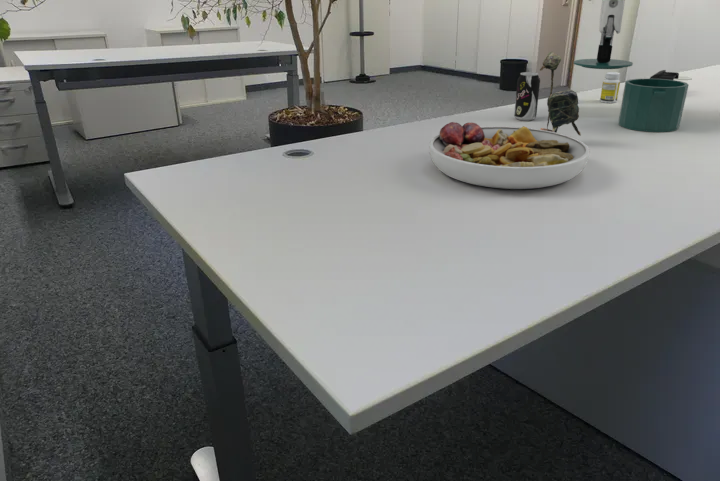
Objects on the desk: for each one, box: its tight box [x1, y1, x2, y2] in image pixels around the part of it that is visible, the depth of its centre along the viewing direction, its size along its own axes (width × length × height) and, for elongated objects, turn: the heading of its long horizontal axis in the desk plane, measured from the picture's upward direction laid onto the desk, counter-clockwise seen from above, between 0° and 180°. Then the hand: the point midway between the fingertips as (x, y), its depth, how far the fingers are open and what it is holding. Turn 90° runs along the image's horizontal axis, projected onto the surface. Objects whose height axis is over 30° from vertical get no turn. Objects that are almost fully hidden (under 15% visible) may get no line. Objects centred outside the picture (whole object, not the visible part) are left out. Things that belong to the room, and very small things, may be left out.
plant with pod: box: [539, 51, 582, 137], centre depth 122 cm, size 8×11×20 cm
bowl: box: [428, 121, 591, 190], centre depth 107 cm, size 30×30×8 cm
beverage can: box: [513, 71, 541, 122], centre depth 145 cm, size 6×6×12 cm
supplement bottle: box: [599, 71, 621, 104], centre depth 165 cm, size 5×5×8 cm
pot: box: [618, 77, 690, 133], centre depth 136 cm, size 14×19×10 cm
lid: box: [573, 58, 634, 70], centre depth 148 cm, size 15×15×7 cm
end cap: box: [649, 69, 680, 80], centre depth 174 cm, size 10×7×7 cm
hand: (603, 60), depth 148 cm, fingers closed on lid, 2 cm apart
